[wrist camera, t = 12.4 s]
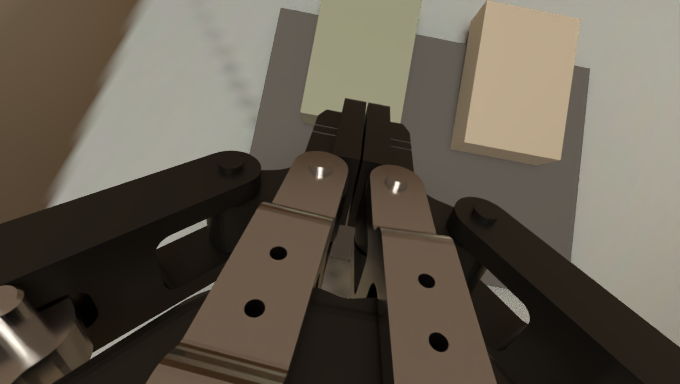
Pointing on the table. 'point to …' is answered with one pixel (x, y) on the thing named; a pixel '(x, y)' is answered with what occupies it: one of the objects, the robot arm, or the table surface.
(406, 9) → the one-dot tile
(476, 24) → the plain beige block
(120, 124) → the table surface
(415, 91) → the slate mat
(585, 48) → the table surface
